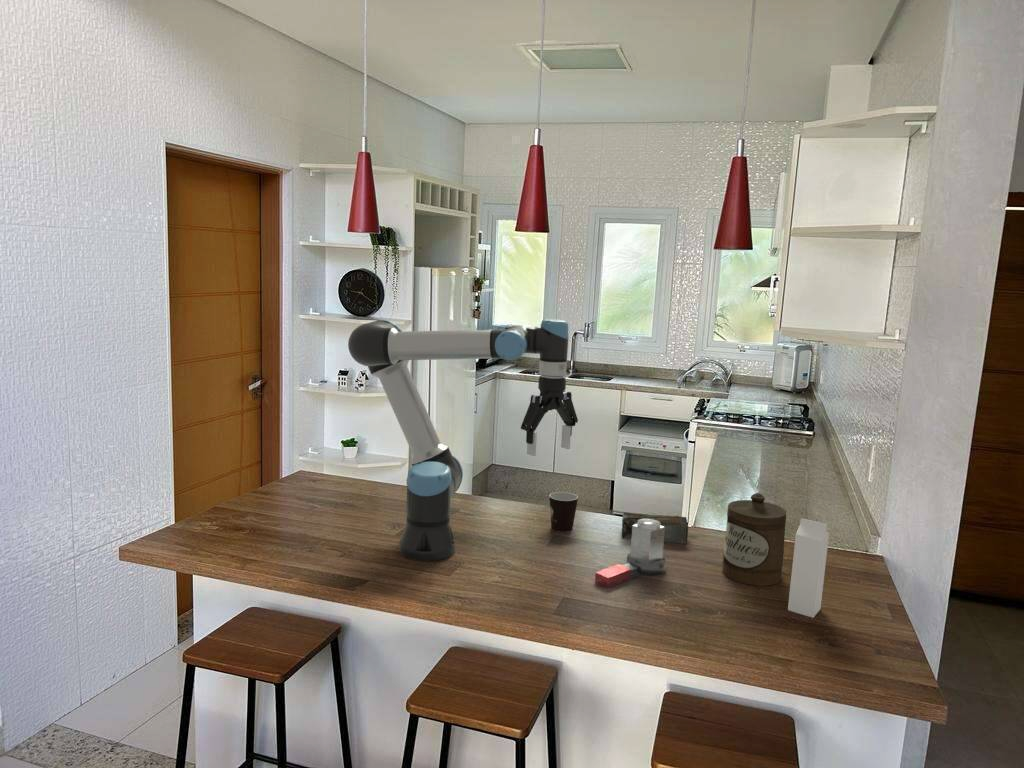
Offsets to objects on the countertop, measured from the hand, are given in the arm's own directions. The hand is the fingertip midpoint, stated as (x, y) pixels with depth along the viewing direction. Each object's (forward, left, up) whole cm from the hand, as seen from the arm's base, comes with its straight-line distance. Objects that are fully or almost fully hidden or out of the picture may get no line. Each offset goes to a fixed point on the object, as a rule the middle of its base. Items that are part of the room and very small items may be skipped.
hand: (548, 451), depth 212 cm
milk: (+19, -68, -27) cm, 76 cm away
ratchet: (+2, -29, -27) cm, 39 cm away
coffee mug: (+14, +6, -27) cm, 31 cm away
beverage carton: (+30, -16, -27) cm, 43 cm away
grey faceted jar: (+9, -29, -24) cm, 39 cm away
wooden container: (+28, -49, -27) cm, 63 cm away
